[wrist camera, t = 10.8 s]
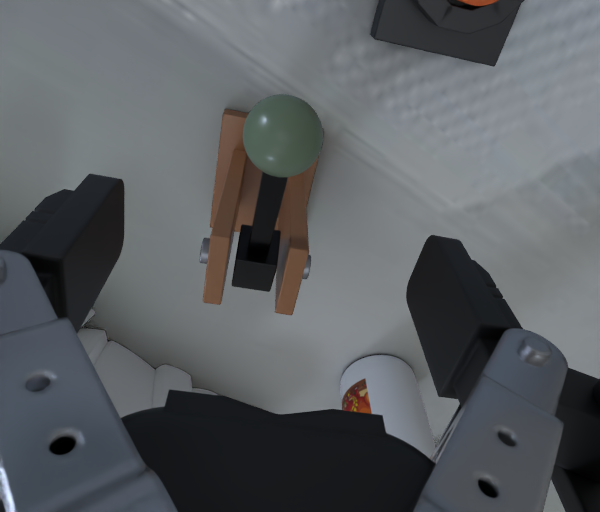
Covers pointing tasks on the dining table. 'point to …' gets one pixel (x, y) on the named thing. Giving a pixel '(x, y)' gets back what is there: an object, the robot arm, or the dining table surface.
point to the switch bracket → (240, 210)
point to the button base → (447, 27)
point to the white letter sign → (131, 374)
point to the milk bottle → (388, 398)
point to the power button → (478, 2)
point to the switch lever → (273, 179)
